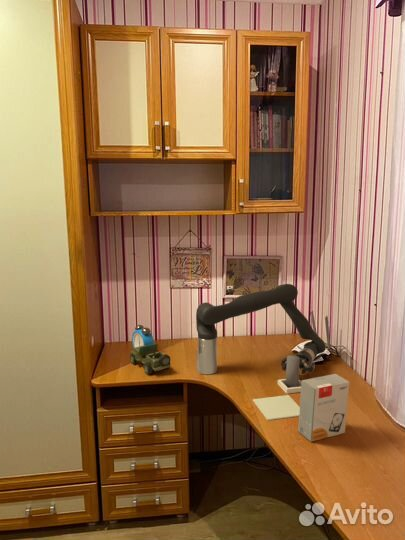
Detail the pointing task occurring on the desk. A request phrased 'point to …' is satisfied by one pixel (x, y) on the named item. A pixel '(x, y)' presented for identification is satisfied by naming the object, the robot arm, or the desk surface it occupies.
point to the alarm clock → (142, 336)
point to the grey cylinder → (292, 371)
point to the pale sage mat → (277, 407)
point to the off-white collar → (289, 390)
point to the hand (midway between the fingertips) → (292, 370)
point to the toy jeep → (150, 358)
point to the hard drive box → (323, 407)
